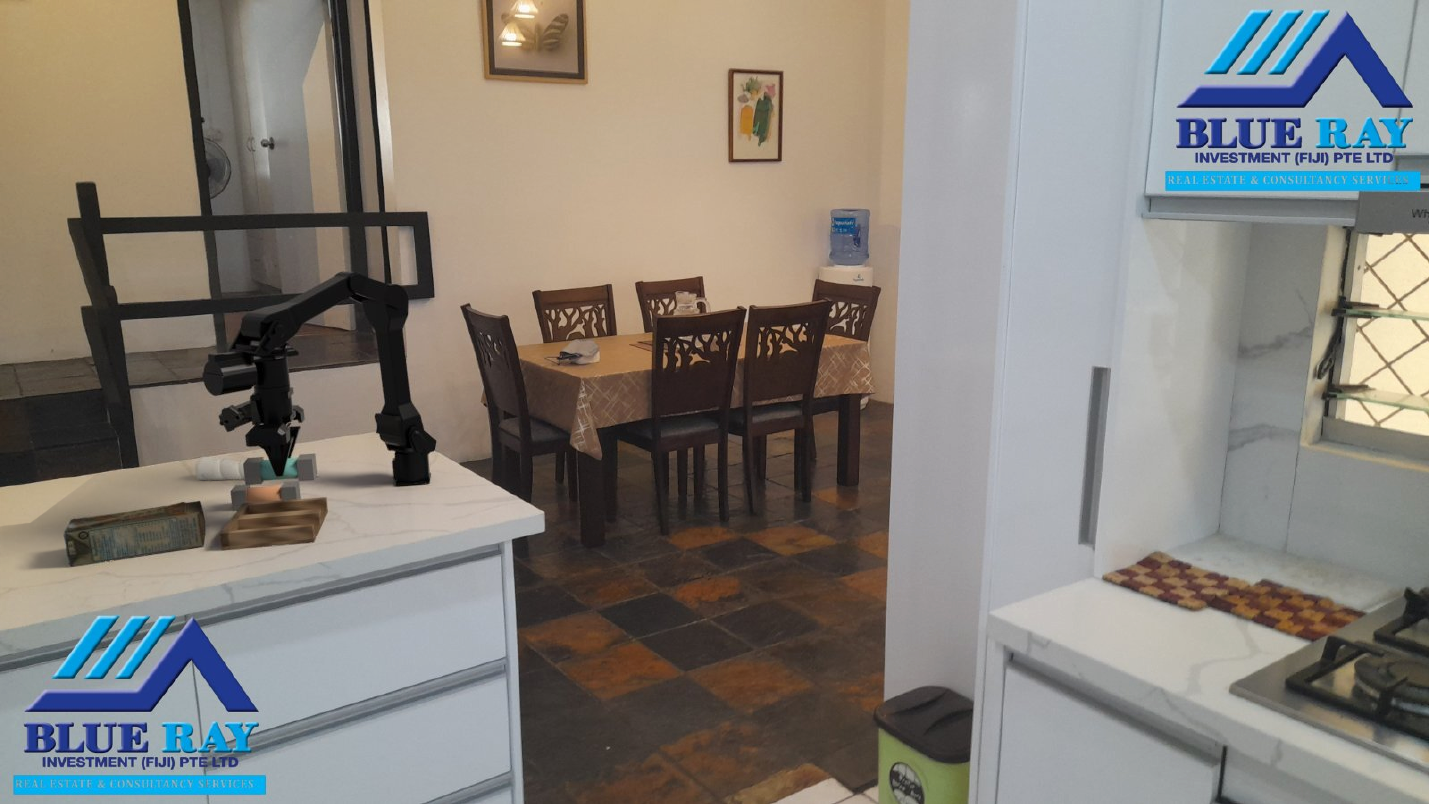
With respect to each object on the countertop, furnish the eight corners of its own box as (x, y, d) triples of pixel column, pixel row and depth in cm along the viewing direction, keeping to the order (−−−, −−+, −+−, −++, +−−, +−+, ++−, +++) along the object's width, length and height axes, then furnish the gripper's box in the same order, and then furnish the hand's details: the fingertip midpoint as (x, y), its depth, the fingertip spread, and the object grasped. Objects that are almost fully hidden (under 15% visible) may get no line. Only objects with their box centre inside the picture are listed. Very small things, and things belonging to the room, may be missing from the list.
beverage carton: (74, 552, 155) (68, 514, 154) (207, 533, 164) (202, 496, 163) (67, 569, 149) (61, 529, 147) (207, 548, 157) (202, 510, 156)
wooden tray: (327, 511, 174) (326, 497, 173) (314, 542, 159) (312, 526, 158) (244, 518, 171) (242, 503, 170) (221, 550, 155) (219, 533, 155)
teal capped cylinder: (317, 474, 170) (315, 453, 169) (314, 480, 166) (311, 459, 166) (250, 478, 167) (247, 457, 167) (245, 485, 164) (242, 463, 163)
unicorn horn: (310, 483, 192) (308, 460, 191) (194, 483, 193) (191, 460, 192) (321, 476, 196) (318, 454, 195) (207, 476, 197) (204, 454, 196)
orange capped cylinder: (300, 500, 181) (298, 480, 180) (297, 506, 177) (295, 486, 176) (237, 504, 178) (235, 485, 178) (232, 511, 175) (230, 491, 174)
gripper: (233, 377, 170) (243, 462, 174) (205, 399, 153) (217, 492, 156) (300, 374, 173) (309, 457, 176) (280, 395, 155) (291, 487, 159)
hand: (281, 473), depth 167 cm, fingers closed on teal capped cylinder, 3 cm apart
